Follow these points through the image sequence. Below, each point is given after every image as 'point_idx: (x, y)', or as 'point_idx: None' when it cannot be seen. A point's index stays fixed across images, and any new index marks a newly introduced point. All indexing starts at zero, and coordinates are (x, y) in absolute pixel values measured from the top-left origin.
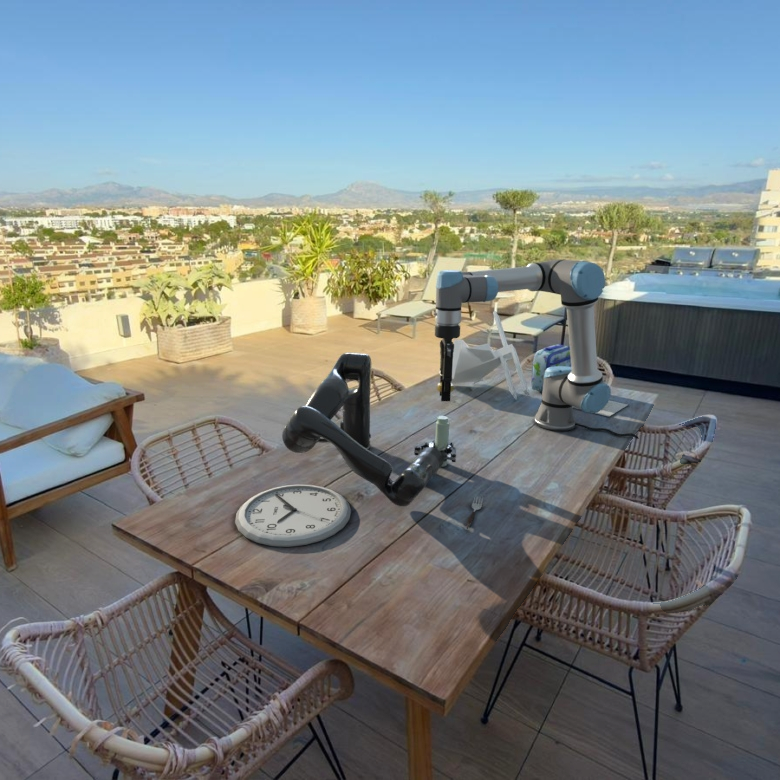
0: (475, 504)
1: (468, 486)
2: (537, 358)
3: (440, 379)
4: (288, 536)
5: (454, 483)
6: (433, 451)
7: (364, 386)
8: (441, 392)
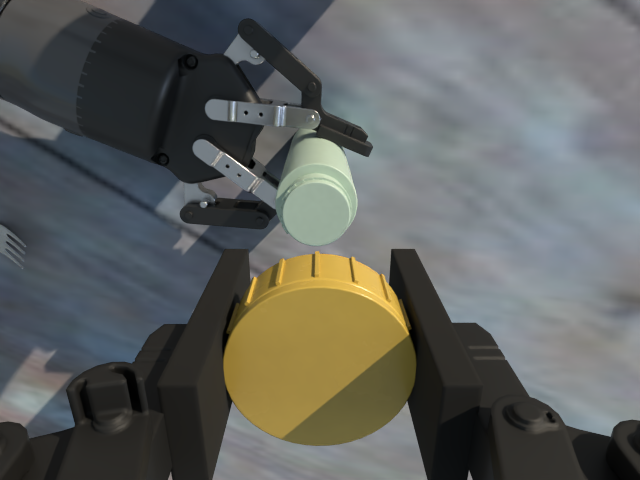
0: (2, 236)
1: (143, 230)
2: None
3: (70, 387)
4: None
5: (157, 185)
6: (104, 118)
7: None
8: (220, 288)
